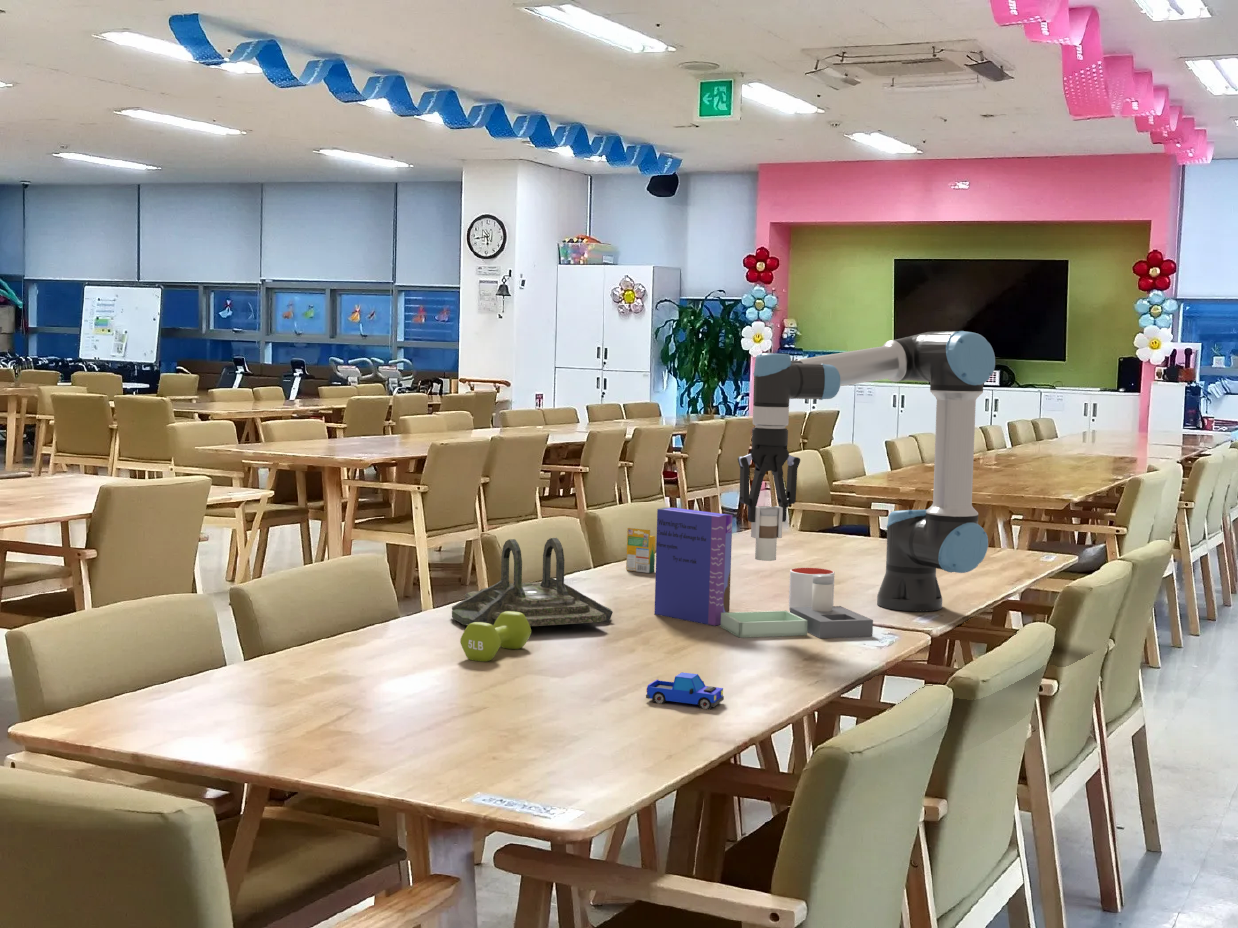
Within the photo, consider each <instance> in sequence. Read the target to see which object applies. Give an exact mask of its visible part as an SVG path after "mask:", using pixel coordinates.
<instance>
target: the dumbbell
mask: <svg viewBox="0 0 1238 928" xmlns="http://www.w3.org/2000/svg"><path fill="white" fill-rule="evenodd" d="M531 634H532V629H531V626H530V625H529V623H528V621H527V619H526V617H525V615H524V614H523V613H520V612H513V611H505V612H503V613H501V614H500V615H499V616H498V618H497V620H496V621H495V623H494V625H492V624H489V623H483V622H473V623H470V624H469V625H466V628H465V630H464V631H463V633H462V635H461V637H460V640H459V642H460V645H461V648H462V650H463V653H464V655H465V656H466V658H467V659H468V660H470V661H473V662H481V663H486V662H487V663H488V662H489V661H492V660H493V659H494V658H495V655H497V653H498V651H499V649H500V647H501V648H503V649H507V650H519V649H520V650H521V649H522V648H523V647H525V645H526V644H527V642H528V640H529V638H530V636H531Z"/></svg>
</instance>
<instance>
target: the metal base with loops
mask: <svg viewBox="0 0 1238 928" xmlns="http://www.w3.org/2000/svg"><path fill="white" fill-rule="evenodd" d="M520 547H521V546H520V544H519V543H518V541H517V540H516V539H515V538H514V539H511V538H510V539H507V540H505V542H504V544H503V545H502V551H501V557H500V558H501V562H500V563H501V564H500V566H501V567H500V569H501V570H500V580H499V581H498V582H497V583H495V584H493V585H490V586H489V587H485V588H481V589H479V590H473V591H469V592H468V591H467V592H466V593H465V594H464V599H463V600H461V601H460V602H458V603H456V604H454V605H452V606H451V619H453V620H455V621H457V622H458V623H460V624H461V625H463V626H468V625H469V624H470V623H473V622H483V623H489V624H492V625H494V623H495V621H496V620H497V618H498V616H499V615H500V614H501V613H503V612H505V611H513V612H520V613H523V614H524V615H525V617H526V619H527V621H528V623H529V625H530V627H539V626H540V627H543V626H544V627H545V626H558V625H574V624H578V625H579V624H588V623H589V624H592V623H593V624H594V623H601V624H609V623H610V621H611V619H612V616H613V612H614V611H613V610H612V609H611V608H609V607H607V606H604V605H603V604H600V603H599V602H598V601H596V600H594V599H593V598H591V597H589V596H587V595H586V594H583V593H581V592H580V591H578V590H577V589H575V588H573V587H572V586H569V585H567V584H566V583H565V553H564V547H563V544H562V543H561V541H560V540H559V538H557V537H552V538H551V537H550V538H549V539H547V540H546V542H545V543H544V547H543V554H542V581H541V582H538V581H533V582H530V581H529V582H522V580H523V558H522V550H521V548H520ZM553 551H554V553H555V560H556V562H555V568H556V569H555V578H553V577H551V573H552V572H551V571H552V570H551V565H552V564H551V563H552V553H553ZM511 554H512V555H513V556H512V557H513V583H510V576H509V575H510V558H511V557H510V556H511Z"/></svg>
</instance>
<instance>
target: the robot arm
mask: <svg viewBox="0 0 1238 928" xmlns="http://www.w3.org/2000/svg"><path fill="white" fill-rule="evenodd" d="M791 358H792V357H791V355H790V354H788V353H767V352H765V353H764V352H763V353H762V352H761V353H758V354H757V355H756V356H755V360H754V368H753V397H752V398H753V400H752V401H753V402H752V403H753V407H752V425H753V426H754V427H753V428H752V429H751V450H750V451H749V453H748V454H746V455H744V456H738V457H737V463H738V465H739V498H738V499H739V503H741V504H744V505H746V507H747V520H748V522H749V523H750V526H751V527H750V537H751V538H754V539H756V538H759V524H760V507H759V506H757V505H758V502H759V497H760V494H761V488H762V486H763V482H764V477H765V476H766V473H767V472H771V475H772V476H773V482H774V483H773V484H774V488H775V494H776V499H777V500H776V501H777V504H778V505H774V507H777V508H778V519H777V539H782V538H783V536H782V535H783V523H785V522H786V521H787V511H788V510H787V508H789V506H790V505H794V504H796V501H797V484H798V483H797V481H798V480H797V479H798V468H799V465H800V464H801V458H800V457H797V456H793V455H791V454H790V453H789V450H788V444H789V442H788V441H789V430H788V428H786V427H788V426H789V421H790V419H789V417H790V416H789V415H790V413H789V412H790V400H794V399H795V400H796V399H798V400H800V399H801V400H820V401H823V400H830V399H833V398H835V397H836V396H837V395H838V393H839V392H840V388H841V387H845V386H852V385H856V384H857V385H858V384H863V383H864V384H865V383H870V382H875V381H881V380H882V381H883V380H886V379H887V380H888V381H890V382H901V381H915V382H925V383H929V384H930V386H929V387H930V388H929V392H930V393H931V394H932V395H933V396H934V397H935V399H936V407H935V411H936V414H935V435H934V439H935V440H934V441H935V442H934V467H933V468H934V469H933V494H932V497H933V498H932V504H931V506H929V507H928V508H927V509H906V510H905V509H903V510H902V509H901V510H892V511H891V512H889V515H888V520H887V526H886V529H887V530H886V553H885V554H886V557H885V559H886V560H885V561H886V562H885V565H886V566H885V574H884V576H883V578H882V579H883V580H882V582H881V583H880V584H881V585H880V587H879V590H878V593H877V597H876V598H877V600H876V605H878V606H879V607H880V608H884V609H890V610H897V611H905V612H932V611H933V612H934V611H940V610H941V609H942V608H943V596H942V592H941V588H940V585H939V582H938V578H937V569H938V570H943V571H945V572H948V573H955V574H965V573H969V572H972V571H973V570H975V569H976V568H977V567H978V566H979V565H980V564H981V563H982V562H983V561H984V559H985V557H986V554H987V552H988V548H989V538H988V537H989V536H988V534H987V532H986V531H985V529H984V528H983V527H982V526H981V525H980V524H979V512H978V510H976V509H975V508H974V507H973V486H974V485H973V484H974V483H973V481H974V461H975V460H974V455H975V431H976V429H975V428H976V426H975V425H976V402H977V399H978V398H979V397H980V396H981V395H982V394H983V393H984V384H985V383H986V382H987V381H989V380H990V378H991V376H992V375H993V374H994V371H995V368H996V356H995V352H994V349H993V347H992V345H991V343H990V342H989V341H988V340H987V339H986V337H984V336H983V335H982V334H979V333H976V332H972V331H964V330H959V331H927V332H922V333H918V334H914V335H910V336H905V337H902V338H898V339H892V340H887V341H886V342H884V343H883V345H882V346H875V347H869V348H864V349H862V348H861V349H858V350H857V349H856V350H850V351H843V352H839V353H832V354H825V355H819V356H818V355H817V356H813V357H807V358H806V357H805V358H799V359H798V358H797V359H795V360H794V359H793V360H792V359H791ZM752 462H753V464H754V466H755V467H754V471H753V478H752V483H751V486H750V465H751V463H752ZM786 462H787V472H786V473H787V474H786V485H785V481H784V480H785V479H784V470H783V469H784V468H783V466H784V464H786Z"/></svg>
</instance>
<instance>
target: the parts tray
mask: <svg viewBox="0 0 1238 928" xmlns="http://www.w3.org/2000/svg"><path fill="white" fill-rule="evenodd" d="M807 622H808V621H807V620H805V619H803V618H801V617H799V616H797V615H795V614H793V613H790V611H789V610H768V611H767V610H765V611H762V610H761V611H759V610H758V611H736V612H735V611H731V612H730V611H729V612H726V613H721V626H720V628H722V629H724V630H725V631H726V632H729V633H731V634H732V635H734V636H736V637H738V638H757V637H758V638H763V637H764V638H766V637H790V636H791V637H792V636H793V637H797V636H808V632H807Z"/></svg>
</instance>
